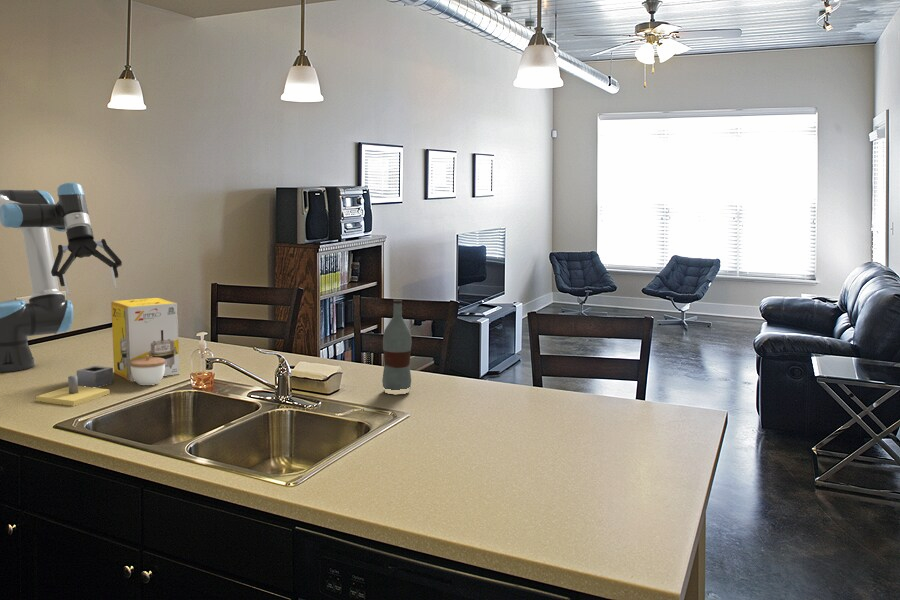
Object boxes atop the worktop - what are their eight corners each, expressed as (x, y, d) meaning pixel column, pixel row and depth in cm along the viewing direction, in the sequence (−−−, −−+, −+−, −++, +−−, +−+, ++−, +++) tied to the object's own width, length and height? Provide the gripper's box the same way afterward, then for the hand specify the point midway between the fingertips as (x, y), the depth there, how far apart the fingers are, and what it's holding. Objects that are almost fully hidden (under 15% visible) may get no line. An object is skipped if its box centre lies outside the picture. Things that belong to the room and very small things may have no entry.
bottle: (413, 389, 242) (414, 298, 238) (408, 396, 233) (410, 302, 229) (385, 387, 243) (385, 297, 239) (379, 395, 234) (380, 301, 230)
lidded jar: (128, 388, 236) (127, 359, 234) (133, 380, 246) (132, 352, 245) (164, 387, 238) (163, 358, 237) (167, 379, 249) (166, 351, 247)
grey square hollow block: (77, 385, 238) (76, 370, 237) (95, 380, 245) (94, 365, 244) (96, 388, 235) (95, 372, 235) (113, 382, 242) (112, 367, 242)
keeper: (36, 401, 220) (35, 379, 219) (73, 389, 233) (72, 369, 232) (73, 406, 215) (72, 384, 215) (109, 394, 229) (108, 373, 228)
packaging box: (131, 381, 244) (128, 307, 241) (114, 372, 256) (111, 301, 253) (179, 374, 255) (177, 303, 252) (161, 366, 267) (158, 297, 263)
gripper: (33, 230, 227) (46, 294, 223) (120, 219, 238) (134, 280, 234) (36, 239, 233) (48, 302, 229) (120, 228, 245) (134, 288, 240)
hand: (92, 291), depth 231 cm, fingers open, 13 cm apart
